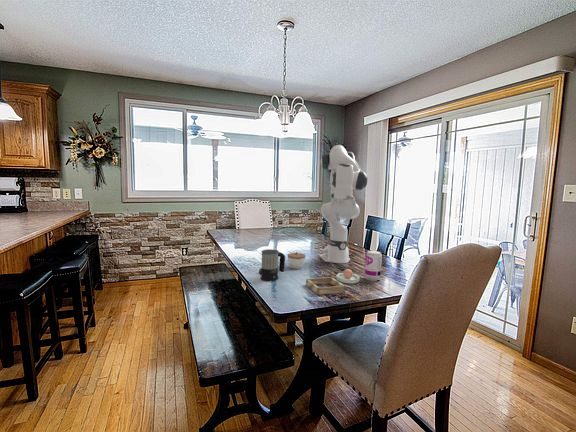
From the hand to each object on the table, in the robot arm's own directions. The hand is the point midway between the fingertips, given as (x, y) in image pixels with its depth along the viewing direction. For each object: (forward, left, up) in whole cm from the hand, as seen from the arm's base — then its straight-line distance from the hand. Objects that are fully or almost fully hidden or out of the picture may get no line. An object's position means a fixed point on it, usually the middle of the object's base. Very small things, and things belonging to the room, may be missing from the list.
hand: (342, 222), depth 153 cm
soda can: (+1, +20, -31) cm, 37 cm away
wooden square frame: (+8, -12, -31) cm, 34 cm away
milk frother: (-17, -34, -31) cm, 49 cm away
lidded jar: (-29, -13, -31) cm, 45 cm away
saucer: (-1, +6, -31) cm, 32 cm away
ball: (-1, +6, -28) cm, 28 cm away
